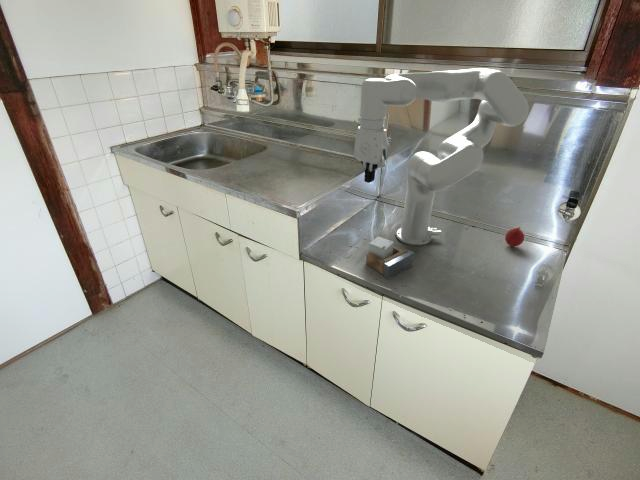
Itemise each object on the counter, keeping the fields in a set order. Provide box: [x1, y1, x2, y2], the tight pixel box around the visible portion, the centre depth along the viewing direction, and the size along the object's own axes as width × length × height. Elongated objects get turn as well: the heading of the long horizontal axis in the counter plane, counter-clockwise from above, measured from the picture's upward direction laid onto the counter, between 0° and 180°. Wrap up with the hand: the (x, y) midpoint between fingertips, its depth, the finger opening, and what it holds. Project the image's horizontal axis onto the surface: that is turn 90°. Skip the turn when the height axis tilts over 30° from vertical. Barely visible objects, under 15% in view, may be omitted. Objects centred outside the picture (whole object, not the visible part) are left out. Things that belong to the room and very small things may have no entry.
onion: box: [504, 226, 525, 248], centre depth 126 cm, size 6×6×8 cm
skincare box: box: [368, 236, 395, 260], centre depth 118 cm, size 6×6×7 cm
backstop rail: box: [382, 249, 415, 281], centre depth 114 cm, size 2×12×5 cm, turn 129°
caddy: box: [365, 245, 409, 275], centre depth 117 cm, size 8×10×5 cm
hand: (369, 181), depth 118 cm, fingers closed
